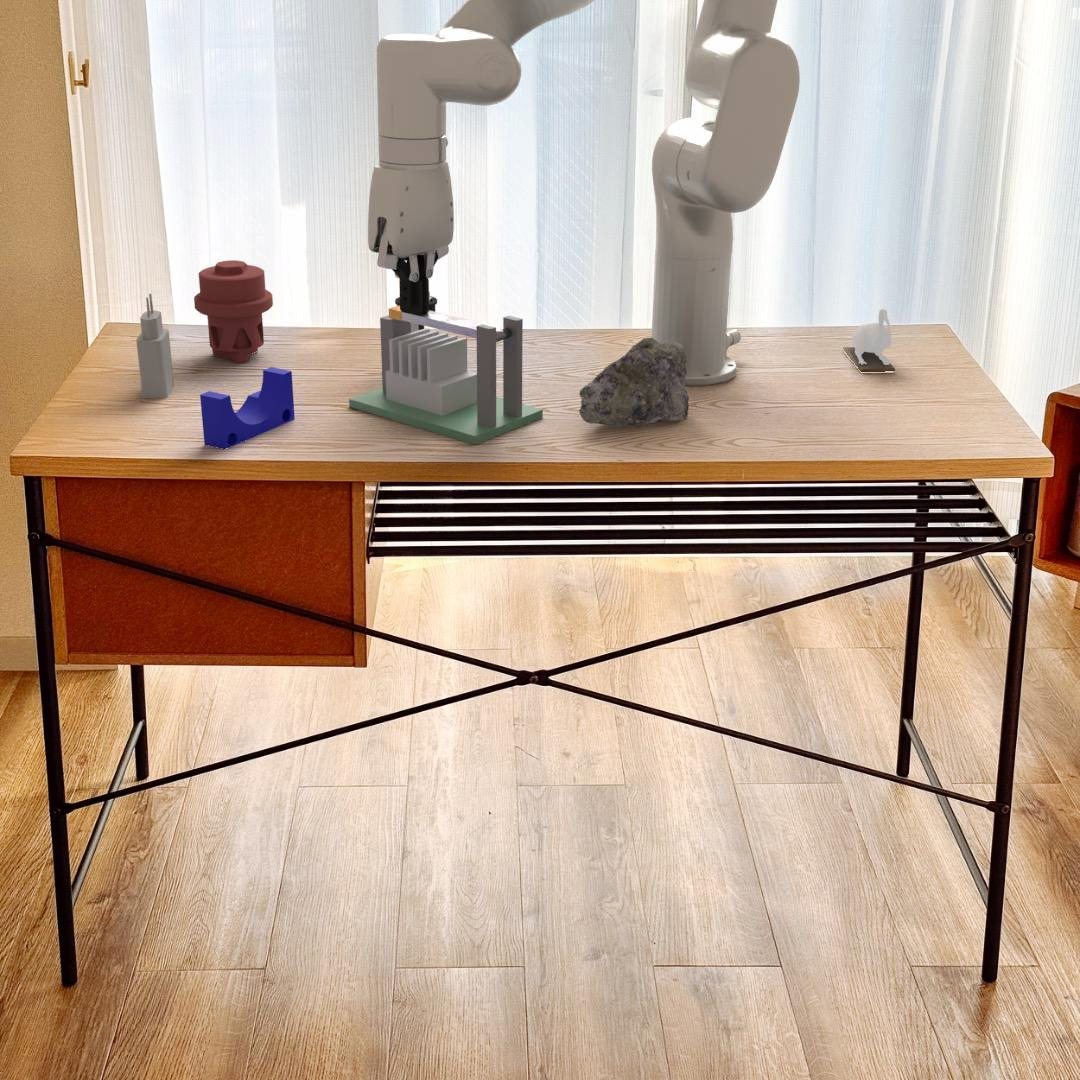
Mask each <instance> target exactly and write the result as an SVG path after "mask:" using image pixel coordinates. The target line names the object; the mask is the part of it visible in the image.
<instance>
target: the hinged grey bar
mask: <svg viewBox="0 0 1080 1080" xmlns="http://www.w3.org/2000/svg"><path fill="white" fill-rule="evenodd" d="M388 315H389V318H392V319H396V320H400V321H402V320H403V321H407V322H411V323H415V324H419V325H423V326H424V327H427V328H428V327H429V328H432V329H436V330H440V331H444V332H448V333H453V334H455V335H456V334H457V335H461V336H466V337H470V338H474V339H477V328H476V326H478V325H481V324H484V325H489V326H493V327H496V343H498V342H502V341H503V340H504V339H507V338H510V337H511V336H512V331H511V330H510V328H503V326H502V327H501V326H497V325H493V324H489V323H485V322H481V321H475V320H473V319H472V320H471V319H468V318H463V317H460V316H454V315H451V314H445V313H442V312H437V311H435V312H434V311H430V310H429V312H428V313H422V314H421V315H415V314H411V313H407V312H402V311H401V310H400V305H399V306H397V305H396V306H393V307H389V308H388Z"/></svg>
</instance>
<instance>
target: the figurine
mask: <svg viewBox="0 0 1080 1080" xmlns="http://www.w3.org/2000/svg"><path fill="white" fill-rule="evenodd" d="M884 322H885V323H886V325H887V326H886V325H884V324H885V323H884ZM851 338H852V339H851V346H843V348H842V350H843V349H844V351H845V352H846V353H847V355H848V356H849V357H850V359H851V360H852V361H853V362H854V363H855V365H856V366H857V367H858V369H859V370H860V371H861V372H885V371H895V370H896V368H895V367H894V366H893V364H892V362H891V361H890V360H888V358H886V357H885V356H884V355H883V352H884V351H885V350H886V349H888V348H890V347H891V345H892V331H891V326H890V320H889V318H888V310H887V309H884V308H882V309H880V310H879V312H878V322H874V323H873V322H871V323H865V324H861V325H860V326H858V327H857V328H855V330H854V332H853V334H852V337H851ZM858 369H857V370H858Z"/></svg>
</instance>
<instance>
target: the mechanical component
mask: <svg viewBox="0 0 1080 1080" xmlns="http://www.w3.org/2000/svg"><path fill="white" fill-rule="evenodd" d="M265 276H266V275H265V270H264V269H263V268H262V267H258V266H257V265H251V264H247V263H246V262H245V261H242V260H236V259H235V260H221V261H219V262H216V264H214V265H213V266H209V267H206V268H204V269H202V270H200V271H199V272H198V283H199V292H198V293H196V295H195V296H194V297H193V303H194V309H195V310H196V311H197V312H198V313H199V314H202V316H203V315H204V316H207V326H208V328H207V329H208V340H209V347H210V348H211V349H212V350H211V352H212V355H214V357H215V356H219V357H218V358H221V357H224V358H223V359H227V358H228V360H231V359H232V361H234V362H236V363H239V364H245V363H247V362H248V361H249V356H252V355H253V354H255V353H254V352H256V351H257V352H258V351H259V348H261V347H262V346H264V345H265V340H264V338H265V337H264V325H263V324H264V323H263V313H266V312H268V311H269V310H271V308H272V307H273V305H274V302H273V301H274V299H273V293H272V292H270V291H269V290H268V289H266V278H265ZM257 352H256V353H257ZM252 353H253V354H252ZM244 362H245V363H244Z"/></svg>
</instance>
